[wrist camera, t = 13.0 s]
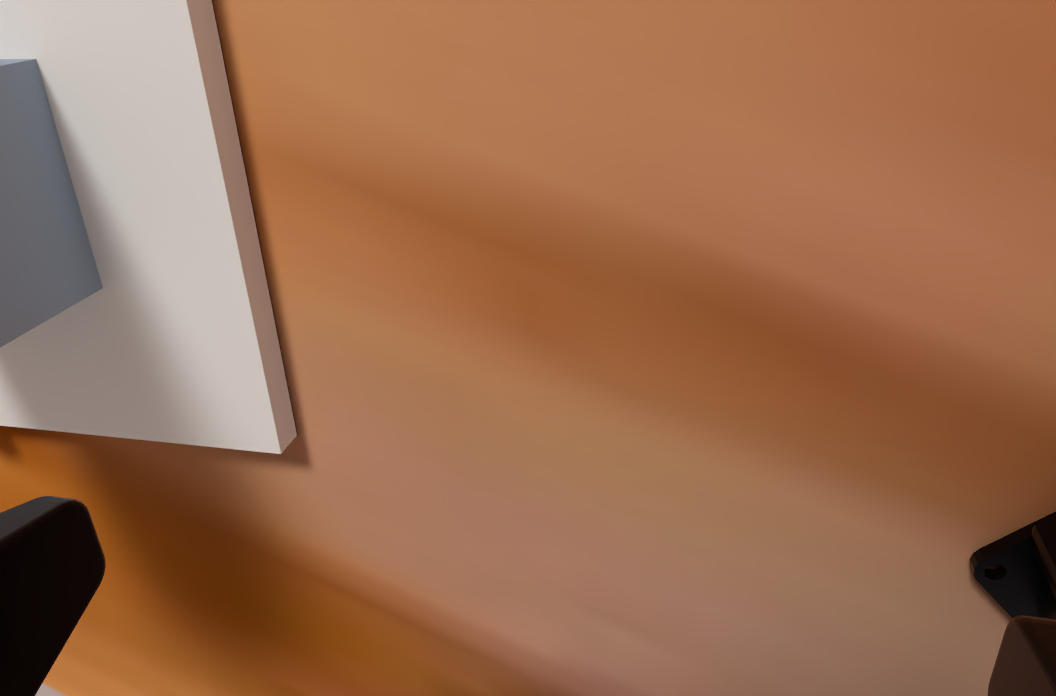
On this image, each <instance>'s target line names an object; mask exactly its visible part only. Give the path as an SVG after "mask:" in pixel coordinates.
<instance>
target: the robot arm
mask: <svg viewBox="0 0 1056 696" xmlns="http://www.w3.org/2000/svg"><path fill="white" fill-rule="evenodd" d="M993 564H998V565H1000V566H999V567H997V568H994V569H986V568H987V567H988V566H989V565H993ZM970 566H971V569H972V572H973V574H974V576H975V578H976V580H977V581H978V582H979V583H980V584H981V585H982V586H983V588H984V589H985V590H986V591H987V592H988V593H989V594H990V595H991V596H992V597H993V598H994V599H995V600H996V601H997V602H998V603H999V604H1000V605H1001V607H1002V608H1003V609H1004V610H1005V611H1006V612H1007V613H1008V614H1009V615H1010V616H1011V617H1012V619H1011V621H1010V622H1009V623H1008V625H1007V627H1006V630H1005V633H1004V636H1003V640H1002V643H1001V646H1000V649H999V653H998V656H997V659H996V662H995V666H994V669H993V672H992V675H991V678H990V682H989V688H988V696H1056V512H1054V513H1052V514H1050V515H1048V516H1046V517H1044V518H1042V519H1040V520H1038V521H1036V522H1033V523H1031V524H1029V525H1027V526H1025V527H1023V528H1021V529H1019V530H1017V531H1015V532H1013V533H1011V534H1009V535H1007V536H1005V537H1003V538H1001V539H999V540H997V541H995V542H993V543H991V544H988V545H986V546H984V547H982V548H980V549H979V550H977V551H976V552H974V553H973V555H972V556H971V558H970ZM104 572H105V557H104V554H103V551H102V548H101V545H100V542H99V539H98V536H97V533H96V530H95V528H94V525H93V522H92V519H91V516H90V513H89V511H88V509H87V507H86V506H85V505H84V504H83V503H82V502H81V501H78V500H76V499H70V498H61V497H53V496H44V497H39V498H36V499H34V500H31V501H29V502H26V503H24V504H21V505H19V506H16V507H14V508H12V509H9V510H7V511H4V512H2V513H0V696H35V694H36V693H37V691H38V689H39V688H40V686H41V684H42V683H43V681H44V679H45V677H46V676H47V674H48V672H49V671H50V669H51V667H52V666H53V664H54V662H55V660H56V659H57V657H58V655H59V654H60V652H61V650H62V648H63V647H64V645H65V643H66V642H67V640H68V638H69V636H70V635H71V633H72V631H73V630H74V628H75V626H76V625H77V623H78V621H79V619H80V618H81V616H82V614H83V613H84V611H85V609H86V607H87V606H88V604H89V602H90V601H91V599H92V597H93V596H94V594H95V592H96V590H97V589H98V587H99V585H100V583H101V581H102V579H103V576H104Z"/></svg>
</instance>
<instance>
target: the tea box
mask: <svg viewBox="0 0 1056 696" xmlns="http://www.w3.org/2000/svg"><path fill="white" fill-rule="evenodd" d="M102 288H103V286H102V283H101V279H100V276H99V272H98V269H97V266H96V262H95V259H94V255H93V252H92V248H91V245H90V242H89V238H88V235H87V231H86V228H85V224H84V221H83V218H82V214H81V211H80V207H79V204H78V200H77V197H76V194H75V190H74V187H73V183H72V180H71V177H70V173H69V170H68V166H67V163H66V159H65V156H64V153H63V149H62V146H61V142H60V139H59V135H58V132H57V129H56V125H55V122H54V118H53V115H52V111H51V108H50V105H49V101H48V98H47V94H46V91H45V87H44V84H43V81H42V77H41V74H40V70H39V67H38V64H37V60H36V59H0V347H2V346H4V345H6V344H7V343H9V342H11V341H12V340H14V339H16V338H18V337H19V336H21V335H23V334H25V333H26V332H28V331H30V330H31V329H33V328H35V327H37V326H38V325H40V324H42V323H44V322H45V321H47V320H49V319H51V318H52V317H54V316H56V315H57V314H59V313H61V312H63V311H64V310H66V309H68V308H70V307H71V306H73V305H75V304H76V303H78V302H80V301H82V300H83V299H85V298H87V297H89V296H90V295H92V294H94V293H96V292H97V291H99V290H101V289H102Z"/></svg>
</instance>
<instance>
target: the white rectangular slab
mask: <svg viewBox="0 0 1056 696" xmlns="http://www.w3.org/2000/svg"><path fill="white" fill-rule="evenodd" d="M0 59H36V60H37V64H38V67H39V70H40V74H41V77H42V81H43V84H44V87H45V91H46V94H47V98H48V101H49V105H50V108H51V111H52V115H53V118H54V122H55V125H56V129H57V132H58V135H59V139H60V142H61V146H62V149H63V153H64V156H65V159H66V163H67V166H68V170H69V173H70V177H71V180H72V183H73V187H74V190H75V194H76V197H77V200H78V204H79V207H80V211H81V214H82V218H83V221H84V224H85V228H86V231H87V235H88V238H89V242H90V245H91V248H92V252H93V255H94V259H95V262H96V266H97V269H98V272H99V276H100V279H101V283H102V286H103V288H102V289H101V290H99V291H97V292H96V293H94V294H92V295H90V296H89V297H87V298H85V299H83V300H82V301H80V302H78V303H76V304H75V305H73V306H71V307H70V308H68V309H66V310H64V311H63V312H61V313H59V314H57V315H56V316H54V317H52V318H51V319H49V320H47V321H45V322H44V323H42V324H40V325H38V326H37V327H35V328H33V329H31V330H30V331H28V332H26V333H25V334H23V335H21V336H19V337H18V338H16V339H14V340H12V341H11V342H9V343H7V344H6V345H4V346H2V347H0V426H10V427H20V428H30V429H40V430H49V431H59V432H69V433H79V434H89V435H99V436H108V437H118V438H128V439H138V440H148V441H158V442H168V443H177V444H187V445H197V446H207V447H217V448H227V449H236V450H246V451H256V452H266V453H276V454H282V452H283V451H284V450H285V449H286V448H287V447H288V445H289V444H290V443H291V442H292V441H293V440H294V438H295V437H296V436H297V433H296V428H295V423H294V418H293V413H292V408H291V402H290V397H289V392H288V387H287V382H286V377H285V372H284V367H283V362H282V356H281V351H280V346H279V341H278V336H277V331H276V326H275V321H274V316H273V311H272V305H271V300H270V295H269V290H268V285H267V280H266V275H265V270H264V265H263V260H262V254H261V249H260V244H259V239H258V234H257V229H256V224H255V219H254V214H253V209H252V203H251V198H250V193H249V188H248V183H247V178H246V173H245V168H244V163H243V158H242V152H241V147H240V142H239V137H238V132H237V127H236V122H235V117H234V112H233V107H232V101H231V96H230V91H229V86H228V81H227V76H226V71H225V66H224V61H223V55H222V50H221V45H220V40H219V35H218V30H217V25H216V20H215V15H214V10H213V4H212V0H0Z"/></svg>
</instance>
